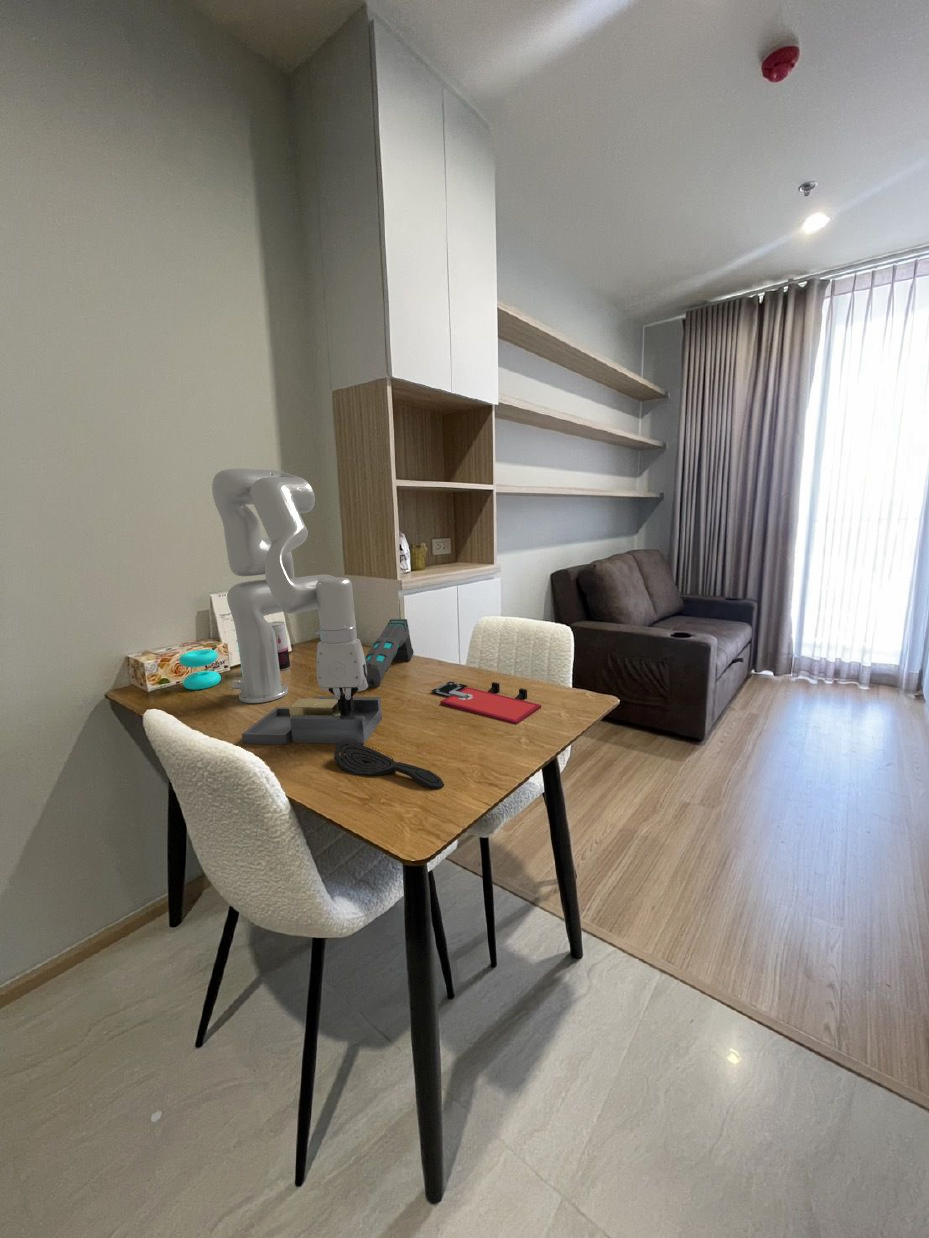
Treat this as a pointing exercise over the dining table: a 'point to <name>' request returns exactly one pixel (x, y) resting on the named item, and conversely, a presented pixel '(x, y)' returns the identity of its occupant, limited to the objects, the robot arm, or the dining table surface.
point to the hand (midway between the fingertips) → (346, 714)
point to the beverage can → (281, 644)
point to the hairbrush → (379, 764)
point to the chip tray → (270, 728)
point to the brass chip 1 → (302, 707)
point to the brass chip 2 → (325, 707)
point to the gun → (388, 650)
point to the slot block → (339, 723)
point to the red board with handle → (487, 702)
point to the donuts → (204, 677)
